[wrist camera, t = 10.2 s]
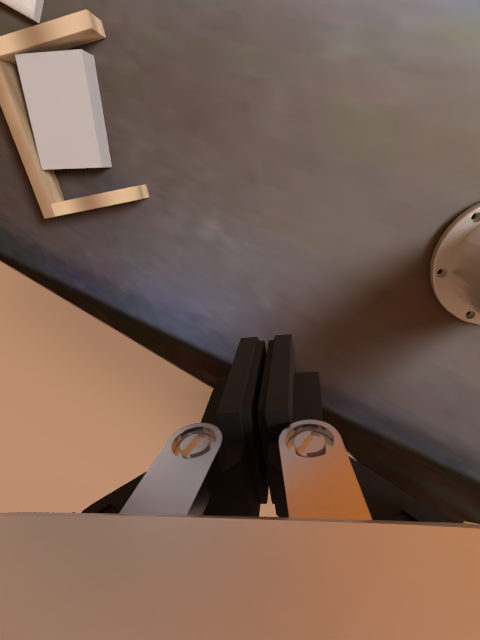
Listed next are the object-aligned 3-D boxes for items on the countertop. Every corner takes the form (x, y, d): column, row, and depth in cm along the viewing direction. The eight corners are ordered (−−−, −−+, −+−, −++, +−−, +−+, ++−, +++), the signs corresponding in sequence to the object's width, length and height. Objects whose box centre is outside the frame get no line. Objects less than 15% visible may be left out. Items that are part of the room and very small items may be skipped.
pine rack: (101, 20, 30) (86, 9, 28) (149, 197, 36) (140, 199, 33) (-2, 52, 32) (-24, 43, 30) (59, 215, 37) (44, 218, 35)
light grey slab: (95, 57, 32) (81, 48, 29) (113, 167, 35) (101, 167, 33) (33, 61, 32) (14, 54, 30) (57, 169, 36) (41, 169, 34)
